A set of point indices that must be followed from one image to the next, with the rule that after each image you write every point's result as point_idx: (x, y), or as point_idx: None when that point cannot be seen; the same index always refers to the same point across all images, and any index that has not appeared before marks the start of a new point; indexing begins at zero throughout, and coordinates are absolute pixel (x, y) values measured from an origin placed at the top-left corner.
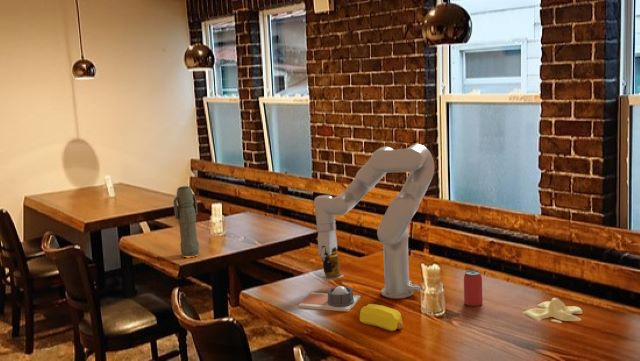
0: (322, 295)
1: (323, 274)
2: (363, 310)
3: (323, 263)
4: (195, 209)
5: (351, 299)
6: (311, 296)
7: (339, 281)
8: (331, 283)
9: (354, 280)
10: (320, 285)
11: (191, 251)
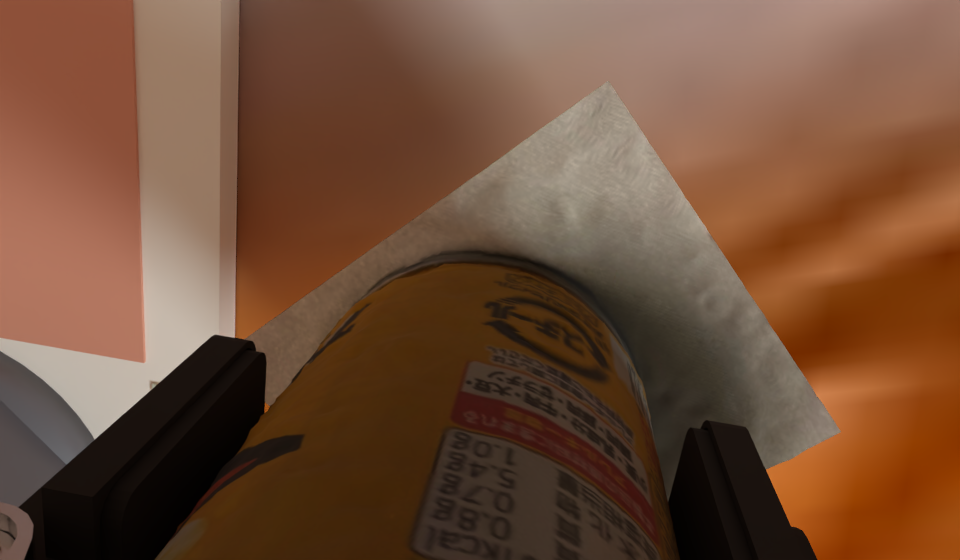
0: (104, 201)
1: (631, 171)
2: None
3: (58, 486)
4: None
5: None
6: (16, 22)
7: (919, 323)
8: (826, 205)
9: (932, 533)
10: (729, 17)
11: None
